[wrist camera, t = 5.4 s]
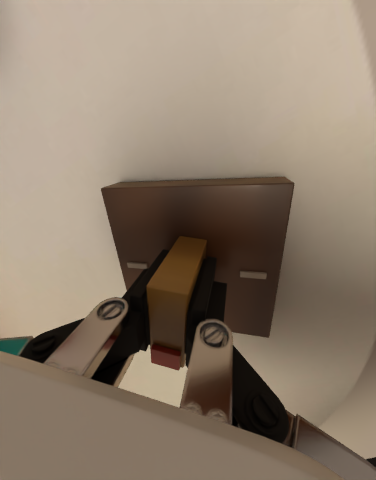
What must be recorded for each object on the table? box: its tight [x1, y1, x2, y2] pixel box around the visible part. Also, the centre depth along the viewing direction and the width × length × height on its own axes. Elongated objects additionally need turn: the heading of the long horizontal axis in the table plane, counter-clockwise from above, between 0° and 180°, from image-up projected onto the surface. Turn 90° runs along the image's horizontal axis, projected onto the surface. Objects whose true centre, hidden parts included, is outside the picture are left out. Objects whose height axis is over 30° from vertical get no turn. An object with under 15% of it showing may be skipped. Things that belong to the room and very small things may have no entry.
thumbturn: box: [147, 236, 207, 370], centre depth 10 cm, size 4×2×5 cm, turn 177°
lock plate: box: [101, 177, 294, 338], centre depth 13 cm, size 10×10×2 cm
